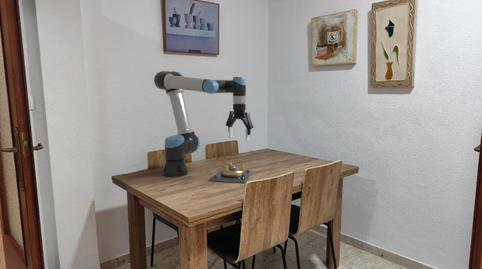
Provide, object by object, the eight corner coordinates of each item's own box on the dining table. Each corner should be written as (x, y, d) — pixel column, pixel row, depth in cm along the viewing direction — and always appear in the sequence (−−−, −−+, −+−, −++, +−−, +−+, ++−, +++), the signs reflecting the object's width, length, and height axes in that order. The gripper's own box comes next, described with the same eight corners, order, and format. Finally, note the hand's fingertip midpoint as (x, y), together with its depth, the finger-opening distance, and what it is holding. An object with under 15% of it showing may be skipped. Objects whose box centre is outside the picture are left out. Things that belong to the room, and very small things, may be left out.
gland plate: (211, 181, 196) (211, 176, 195) (220, 172, 215) (220, 168, 215) (245, 183, 191) (245, 178, 191) (252, 174, 211) (252, 170, 210)
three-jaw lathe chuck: (217, 176, 198) (217, 165, 197) (224, 170, 211) (224, 160, 210) (241, 177, 195) (241, 166, 194) (246, 171, 208) (246, 161, 207)
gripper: (259, 103, 196) (259, 140, 199) (228, 102, 212) (228, 136, 216) (251, 104, 191) (250, 142, 194) (219, 102, 207) (220, 137, 210)
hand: (239, 139), depth 205 cm, fingers open, 13 cm apart
